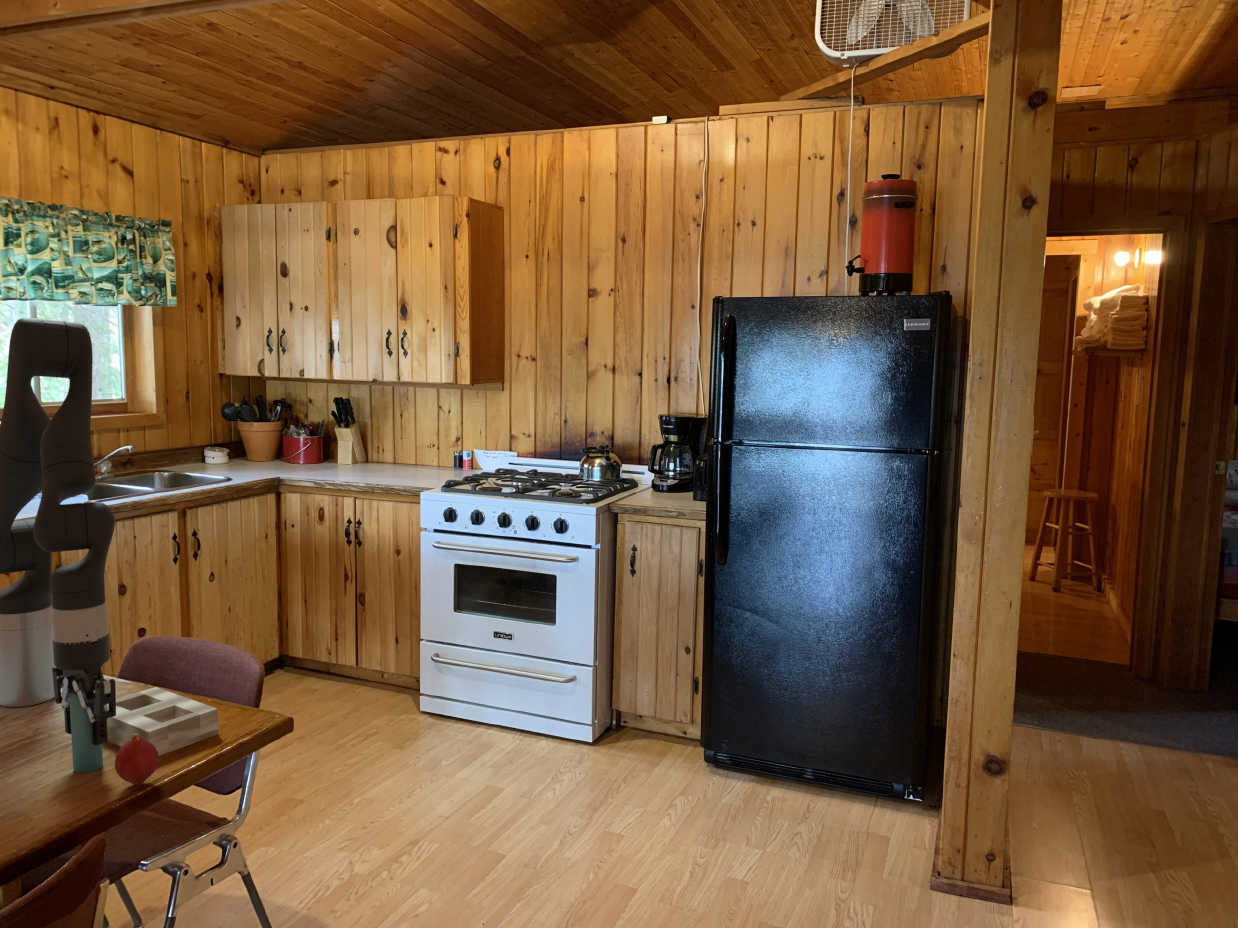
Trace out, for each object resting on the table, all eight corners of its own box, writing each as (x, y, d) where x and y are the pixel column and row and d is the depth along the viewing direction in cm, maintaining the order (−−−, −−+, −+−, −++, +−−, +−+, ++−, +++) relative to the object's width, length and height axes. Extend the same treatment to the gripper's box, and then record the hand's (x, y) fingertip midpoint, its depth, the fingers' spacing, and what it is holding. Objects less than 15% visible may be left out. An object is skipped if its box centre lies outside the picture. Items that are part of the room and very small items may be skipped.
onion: (110, 784, 141) (107, 732, 140) (151, 772, 145) (149, 722, 144) (123, 797, 137) (120, 744, 136) (165, 785, 141) (162, 733, 140)
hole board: (89, 733, 159) (87, 707, 159) (157, 711, 169) (156, 686, 169) (150, 759, 150) (148, 731, 149) (218, 734, 159) (217, 708, 159)
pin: (68, 768, 146) (63, 693, 144) (94, 759, 149) (90, 686, 148) (81, 775, 144) (77, 698, 142) (108, 765, 147) (104, 691, 146)
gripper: (31, 631, 145) (37, 735, 147) (80, 647, 137) (86, 757, 139) (81, 619, 151) (86, 719, 153) (131, 635, 143) (136, 740, 145)
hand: (86, 737), depth 146 cm, fingers open, 7 cm apart
